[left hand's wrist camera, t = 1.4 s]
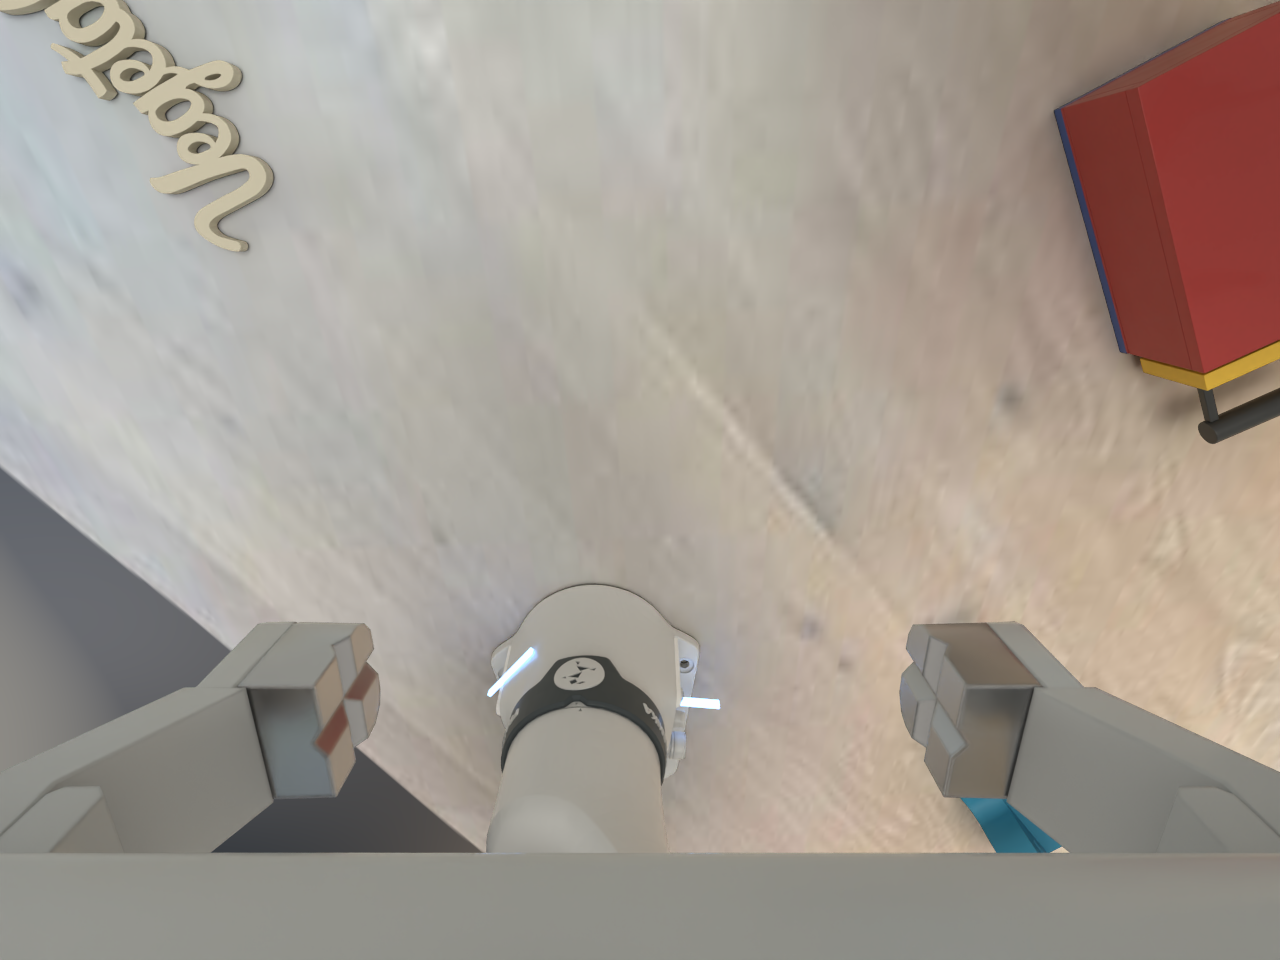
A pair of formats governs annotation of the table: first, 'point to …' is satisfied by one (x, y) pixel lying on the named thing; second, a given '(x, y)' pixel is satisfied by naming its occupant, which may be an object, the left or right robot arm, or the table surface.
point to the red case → (1187, 193)
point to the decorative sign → (160, 101)
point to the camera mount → (1009, 827)
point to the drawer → (1237, 417)
